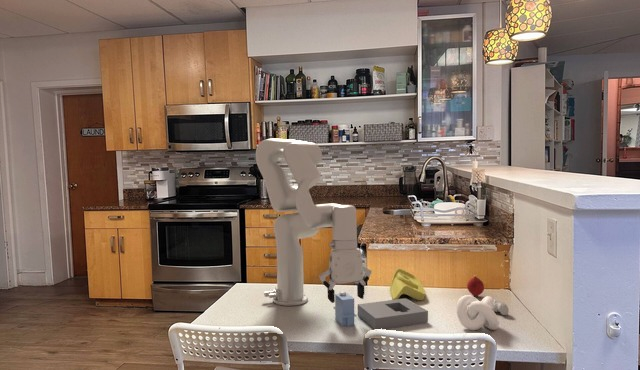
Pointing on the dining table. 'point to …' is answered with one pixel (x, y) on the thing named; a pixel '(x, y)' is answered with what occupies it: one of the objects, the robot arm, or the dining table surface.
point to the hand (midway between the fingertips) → (346, 299)
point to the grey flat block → (392, 313)
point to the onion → (475, 286)
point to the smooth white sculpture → (500, 307)
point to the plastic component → (406, 285)
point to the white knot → (477, 313)
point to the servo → (344, 309)
